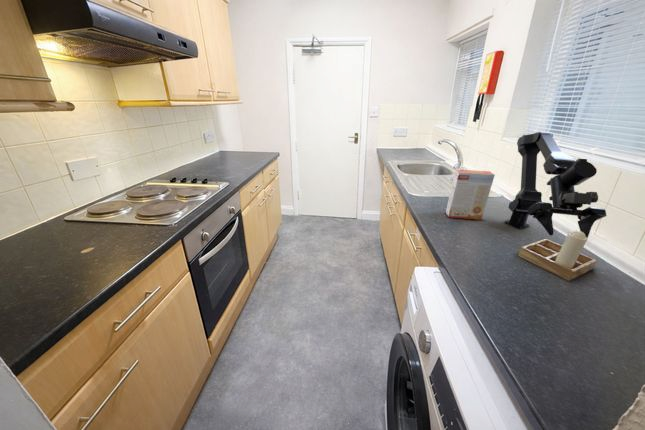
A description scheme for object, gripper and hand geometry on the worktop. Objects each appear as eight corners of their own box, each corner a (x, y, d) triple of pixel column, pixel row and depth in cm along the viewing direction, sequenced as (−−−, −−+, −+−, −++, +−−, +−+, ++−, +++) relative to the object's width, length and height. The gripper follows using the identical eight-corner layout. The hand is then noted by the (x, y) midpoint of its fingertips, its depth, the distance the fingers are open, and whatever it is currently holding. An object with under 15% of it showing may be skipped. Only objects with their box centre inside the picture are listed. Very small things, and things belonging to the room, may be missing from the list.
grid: (542, 246, 97) (545, 238, 96) (592, 268, 85) (597, 260, 84) (517, 255, 91) (521, 247, 90) (568, 280, 79) (573, 271, 78)
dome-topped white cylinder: (552, 263, 87) (570, 226, 81) (570, 268, 84) (589, 231, 78) (552, 269, 84) (570, 231, 78) (570, 275, 81) (590, 236, 75)
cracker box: (476, 215, 121) (490, 170, 113) (481, 220, 116) (496, 174, 107) (444, 212, 124) (455, 168, 115) (447, 217, 118) (459, 172, 109)
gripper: (546, 177, 82) (551, 225, 77) (618, 183, 78) (627, 233, 73) (525, 193, 92) (529, 235, 87) (588, 198, 89) (595, 243, 84)
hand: (568, 237), depth 83 cm, fingers open, 9 cm apart
